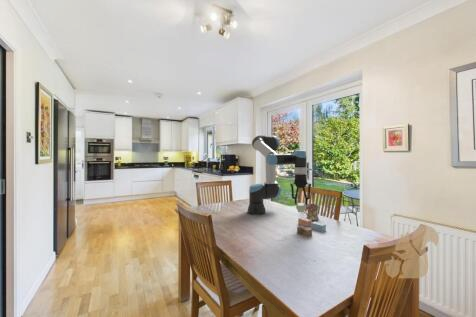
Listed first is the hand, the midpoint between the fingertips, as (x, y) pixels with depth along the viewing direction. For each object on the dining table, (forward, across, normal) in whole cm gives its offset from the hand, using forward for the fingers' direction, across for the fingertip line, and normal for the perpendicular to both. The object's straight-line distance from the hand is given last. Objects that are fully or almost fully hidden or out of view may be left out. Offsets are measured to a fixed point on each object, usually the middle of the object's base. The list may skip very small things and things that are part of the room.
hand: (301, 209), depth 143 cm
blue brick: (+13, +10, +1) cm, 17 cm away
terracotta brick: (+13, +2, +8) cm, 15 cm away
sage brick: (+1, 0, 0) cm, 1 cm away
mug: (+12, +7, +22) cm, 26 cm away
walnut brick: (+13, +2, -10) cm, 17 cm away
